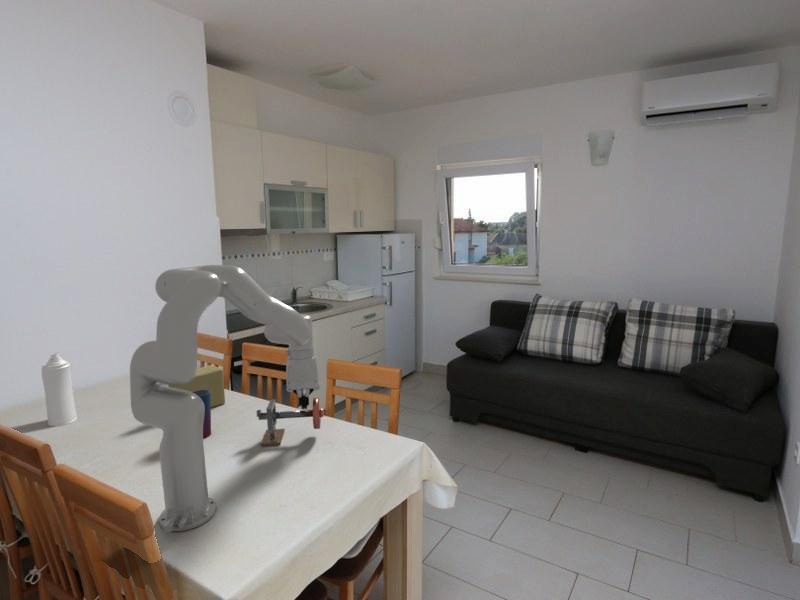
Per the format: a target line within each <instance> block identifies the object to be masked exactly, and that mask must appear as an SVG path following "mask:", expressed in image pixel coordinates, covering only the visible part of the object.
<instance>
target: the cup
mask: <svg viewBox="0 0 800 600" xmlns="http://www.w3.org/2000/svg"><path fill="white" fill-rule="evenodd" d="M191 392H192V393H194V394H196V395H198V396H199V397H200V398H201V399H202V401H203V403H204V407H205V415H204V423H203V439H205V438H209V437H211V435H212V412H211V411H212V410H211V408H212V407H211V402H210V390H208V389H199V390H194V391H191Z"/></svg>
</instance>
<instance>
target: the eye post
mask: <svg viewBox="0 0 800 600" xmlns="http://www.w3.org/2000/svg"><path fill="white" fill-rule="evenodd" d="M276 405H277V403H276V399H275V398H274V399H270V400H269V403H268V404H267V407H266V413H267V420H266V422H267V423H266V424H267V429H266V430H265V432H264V434H263V437H262V441H261V442H260V447H276V446H281V444H282V441H283V438H284V435H285V428H277V427H276V425H277V422H278V419H273V413H272V412H277V409H276V408H277V407H276Z"/></svg>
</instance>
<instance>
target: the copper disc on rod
mask: <svg viewBox="0 0 800 600" xmlns="http://www.w3.org/2000/svg"><path fill="white" fill-rule="evenodd" d="M272 413H273V419H277V420H278V419H279V420H282V419H297V418H312V425H313V429H314V430H320V429H321V426H322V425H321V421H322V418H324V415H325V414H324V408H322V407H321V398H320V397H313V398H312V409H301V410H289V411H288V410H287V411H276V412H272ZM257 417H258V418H257ZM256 418H257V419H258V421H264V420H266V421H267V412H262V409H256Z"/></svg>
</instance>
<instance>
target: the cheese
mask: <svg viewBox="0 0 800 600" xmlns="http://www.w3.org/2000/svg"><path fill="white" fill-rule="evenodd" d="M168 387H171V388H177V389H182V390H186V391H190V392H191V391H194V390H199V389H208V390H210V402H211V408H214V407H217V406H222V405H224V404H225V403H226V397H225V394H226V393H225V381H224V370H223V369H222V367H217V366H214V365H211V364H209V365H205V366H202V367H200V368H197V372H196V375H195V377H194V379H193V380H192V381H191V382H189V383H188V384H185V385H170V384H168Z"/></svg>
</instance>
